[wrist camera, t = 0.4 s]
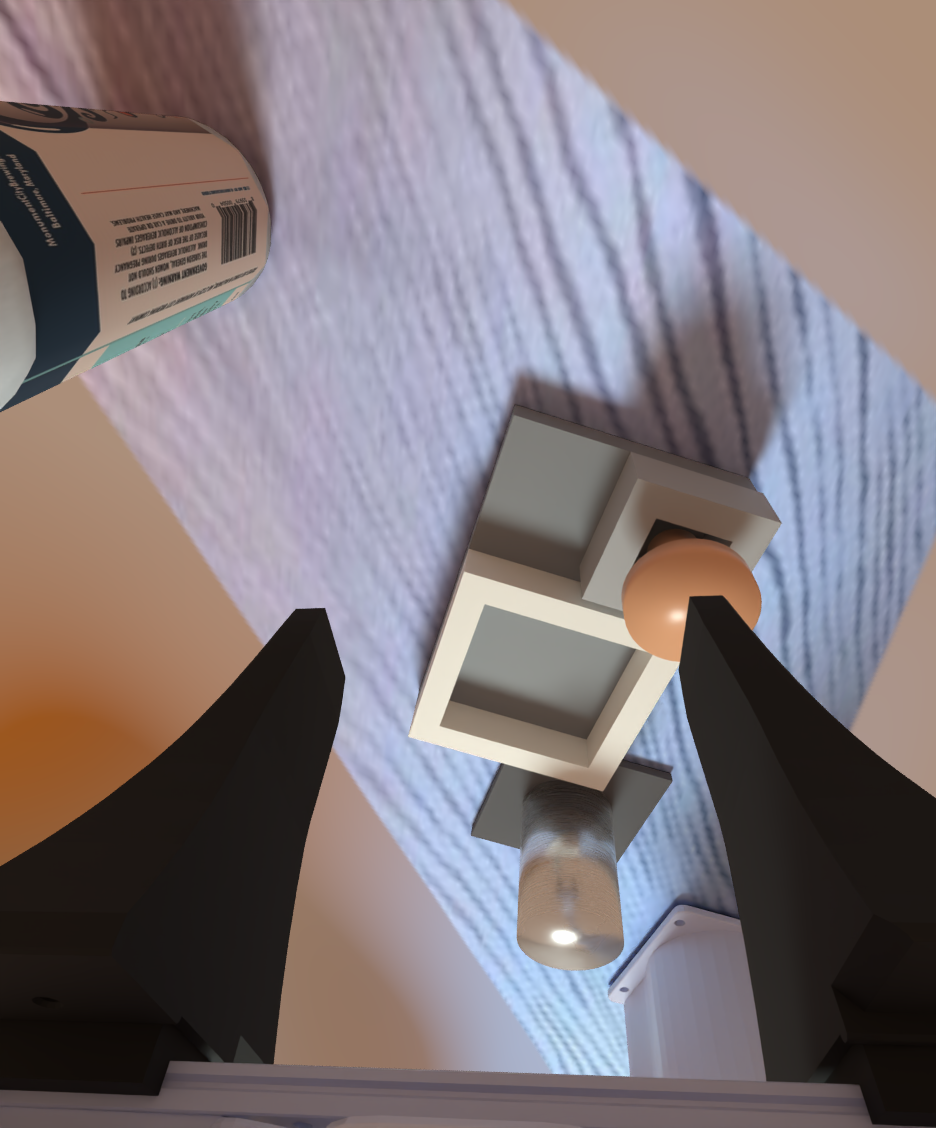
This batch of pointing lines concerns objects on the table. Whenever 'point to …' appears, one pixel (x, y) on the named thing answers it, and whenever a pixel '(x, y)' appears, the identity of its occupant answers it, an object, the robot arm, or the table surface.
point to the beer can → (115, 236)
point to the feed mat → (502, 809)
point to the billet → (568, 878)
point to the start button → (683, 589)
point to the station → (568, 597)
